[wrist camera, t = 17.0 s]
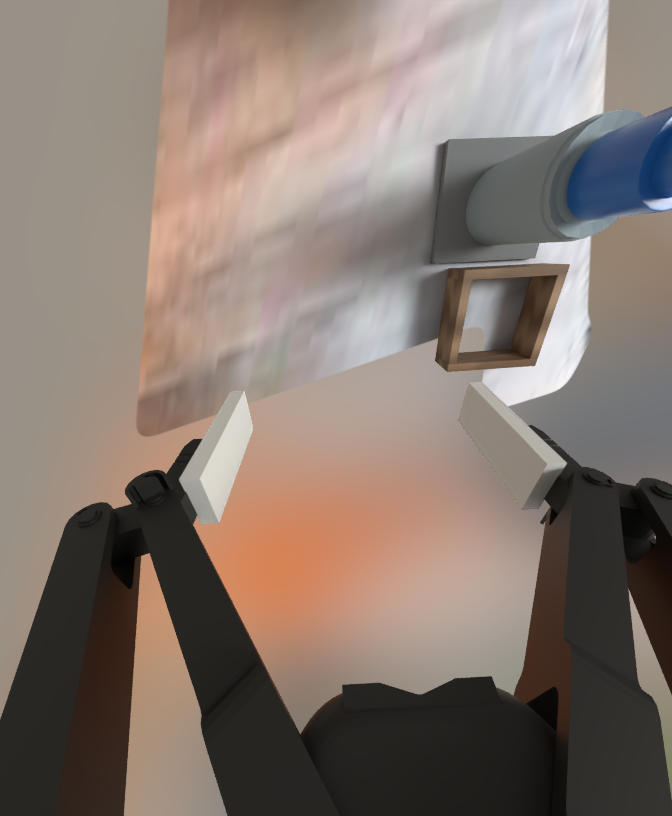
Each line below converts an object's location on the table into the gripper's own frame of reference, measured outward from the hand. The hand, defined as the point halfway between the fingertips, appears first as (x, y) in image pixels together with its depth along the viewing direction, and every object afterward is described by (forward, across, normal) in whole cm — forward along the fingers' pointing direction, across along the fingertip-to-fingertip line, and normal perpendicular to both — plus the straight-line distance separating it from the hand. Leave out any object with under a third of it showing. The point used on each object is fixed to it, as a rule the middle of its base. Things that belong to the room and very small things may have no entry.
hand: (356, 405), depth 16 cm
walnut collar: (+30, +24, -3) cm, 39 cm away
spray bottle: (+30, +22, +11) cm, 39 cm away
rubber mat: (+31, +21, +11) cm, 39 cm away
